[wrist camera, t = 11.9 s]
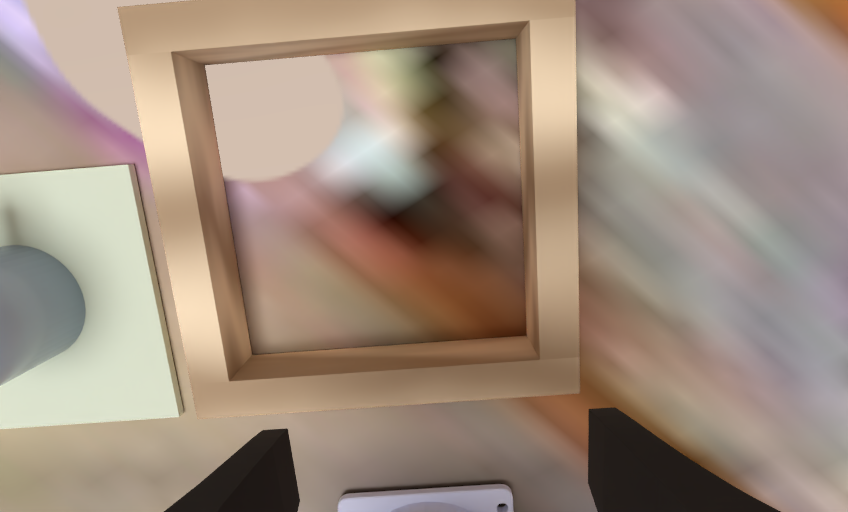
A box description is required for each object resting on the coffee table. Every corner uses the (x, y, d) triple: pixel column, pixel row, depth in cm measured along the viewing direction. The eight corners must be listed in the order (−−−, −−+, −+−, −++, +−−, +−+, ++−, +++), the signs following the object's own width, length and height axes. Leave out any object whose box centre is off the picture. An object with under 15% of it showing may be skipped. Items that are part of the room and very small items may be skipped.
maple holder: (562, 365, 21) (580, 393, 19) (223, 388, 21) (197, 419, 19) (554, -9, 18) (574, -34, 15) (159, 26, 18) (117, 7, 16)
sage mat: (183, 412, 22) (179, 417, 21) (-54, 428, 22) (-63, 433, 22) (133, 164, 19) (127, 164, 19) (-131, 185, 20) (-142, 186, 19)
